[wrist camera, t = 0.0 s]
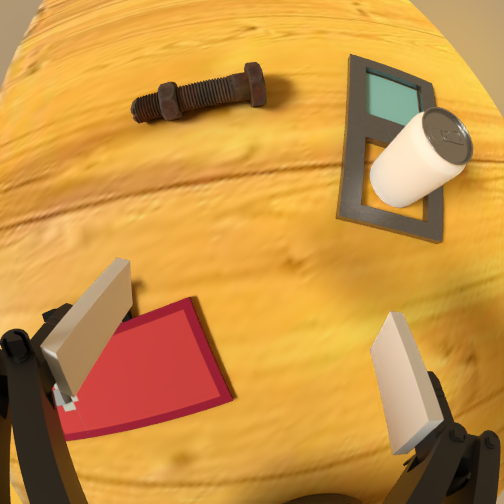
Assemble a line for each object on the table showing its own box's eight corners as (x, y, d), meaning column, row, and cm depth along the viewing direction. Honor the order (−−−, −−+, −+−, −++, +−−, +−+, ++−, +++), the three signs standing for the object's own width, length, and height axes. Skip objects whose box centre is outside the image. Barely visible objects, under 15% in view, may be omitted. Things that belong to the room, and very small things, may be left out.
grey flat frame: (436, 243, 31) (441, 242, 30) (335, 218, 31) (338, 215, 30) (428, 87, 34) (432, 83, 33) (348, 59, 34) (350, 53, 33)
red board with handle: (-8, 340, 28) (33, 441, 27) (-21, 342, 25) (23, 448, 24) (178, 262, 31) (233, 396, 29) (172, 259, 28) (232, 405, 26)
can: (362, 156, 32) (407, 98, 20) (408, 157, 32) (461, 107, 20) (375, 210, 31) (432, 168, 19) (421, 207, 31) (485, 171, 20)
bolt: (144, 122, 35) (260, 97, 35) (138, 142, 31) (268, 114, 32) (130, 83, 30) (255, 56, 30) (122, 99, 27) (263, 67, 27)
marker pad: (420, 135, 33) (420, 135, 33) (364, 117, 33) (365, 116, 33) (415, 91, 34) (416, 90, 34) (365, 73, 34) (365, 72, 34)
